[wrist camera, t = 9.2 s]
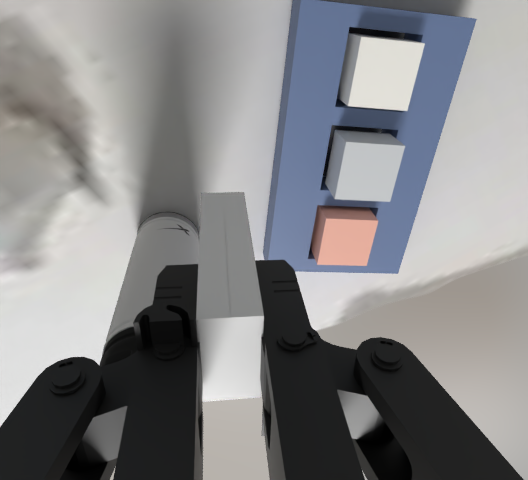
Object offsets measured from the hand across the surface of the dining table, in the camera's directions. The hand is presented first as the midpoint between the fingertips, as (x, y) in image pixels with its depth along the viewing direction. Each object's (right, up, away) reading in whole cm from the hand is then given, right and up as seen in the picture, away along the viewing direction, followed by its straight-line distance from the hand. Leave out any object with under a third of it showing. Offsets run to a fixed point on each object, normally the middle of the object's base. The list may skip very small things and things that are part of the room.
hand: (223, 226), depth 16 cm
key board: (+10, +8, +26) cm, 29 cm away
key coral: (+9, +1, +28) cm, 29 cm away
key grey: (+10, +7, +23) cm, 26 cm away
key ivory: (+10, +14, +20) cm, 27 cm away
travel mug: (-8, 0, +28) cm, 30 cm away
